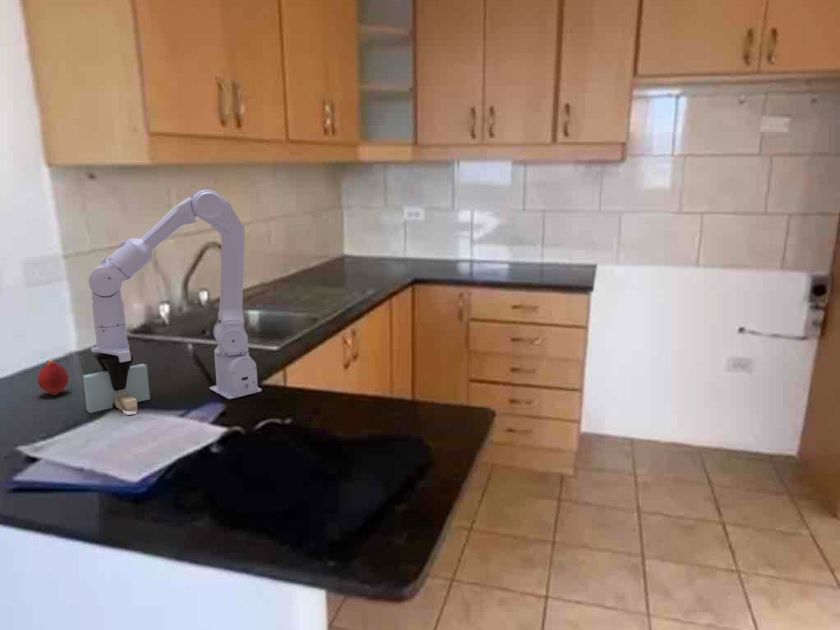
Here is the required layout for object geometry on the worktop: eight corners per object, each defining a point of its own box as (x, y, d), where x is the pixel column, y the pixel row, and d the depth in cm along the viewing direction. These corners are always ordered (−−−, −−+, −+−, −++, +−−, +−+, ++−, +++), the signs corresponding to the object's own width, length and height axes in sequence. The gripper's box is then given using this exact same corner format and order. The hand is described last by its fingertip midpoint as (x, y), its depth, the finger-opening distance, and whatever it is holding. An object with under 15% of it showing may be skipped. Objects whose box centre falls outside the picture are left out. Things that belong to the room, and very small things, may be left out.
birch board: (137, 413, 129) (136, 399, 129) (127, 416, 128) (126, 402, 127) (110, 394, 141) (109, 381, 140) (101, 396, 139) (99, 383, 139)
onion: (63, 388, 144) (59, 354, 143) (74, 394, 141) (70, 359, 139) (35, 395, 140) (30, 360, 138) (46, 401, 136) (41, 365, 135)
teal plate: (149, 399, 138) (146, 365, 136) (89, 413, 130) (85, 377, 128) (146, 396, 139) (143, 363, 137) (86, 410, 131) (82, 375, 129)
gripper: (78, 321, 133) (85, 383, 136) (101, 334, 123) (108, 401, 126) (113, 316, 138) (120, 376, 141) (138, 328, 127) (145, 392, 130)
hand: (117, 387), depth 133 cm, fingers open, 3 cm apart
